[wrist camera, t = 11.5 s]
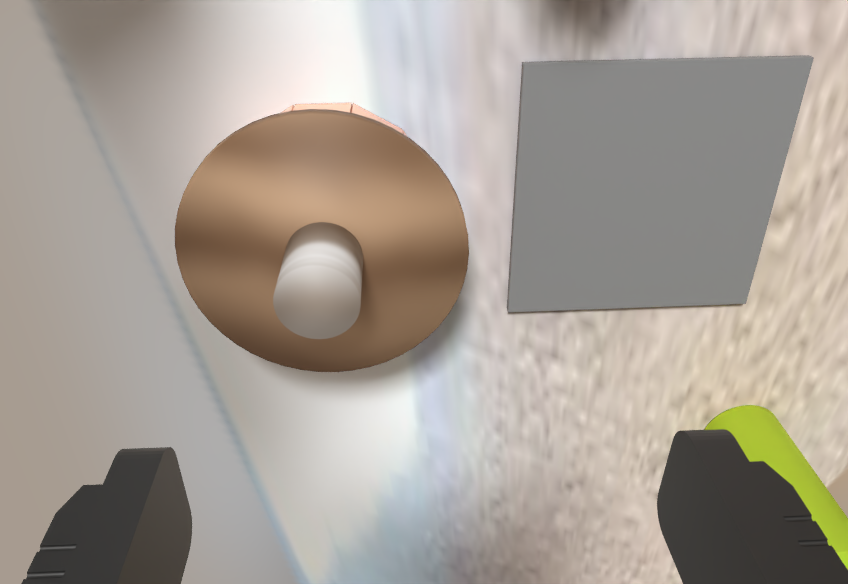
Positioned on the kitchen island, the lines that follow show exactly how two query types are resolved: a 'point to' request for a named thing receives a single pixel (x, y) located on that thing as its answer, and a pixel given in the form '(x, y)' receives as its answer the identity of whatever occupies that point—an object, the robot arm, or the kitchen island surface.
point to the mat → (647, 179)
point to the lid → (322, 240)
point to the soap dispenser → (786, 467)
